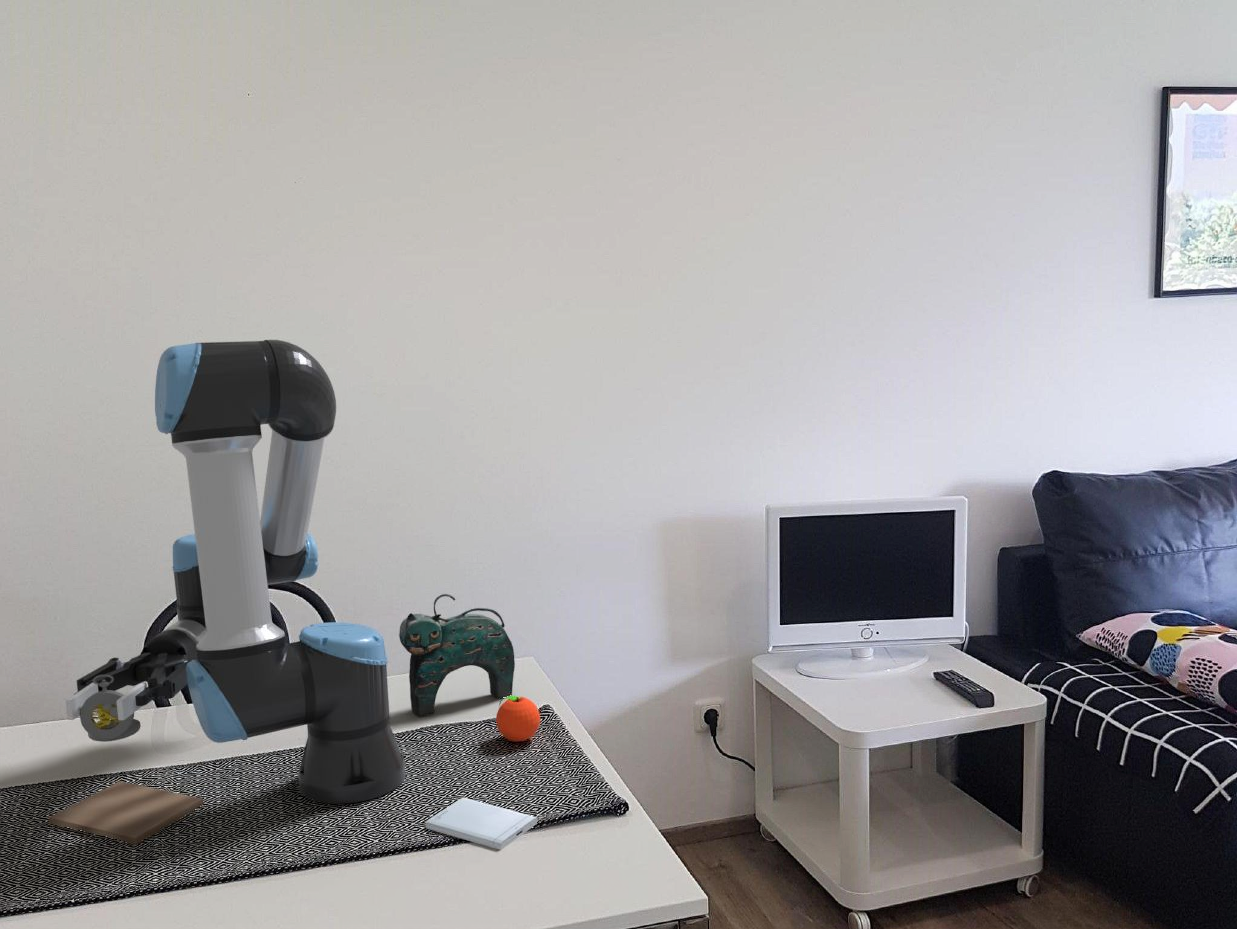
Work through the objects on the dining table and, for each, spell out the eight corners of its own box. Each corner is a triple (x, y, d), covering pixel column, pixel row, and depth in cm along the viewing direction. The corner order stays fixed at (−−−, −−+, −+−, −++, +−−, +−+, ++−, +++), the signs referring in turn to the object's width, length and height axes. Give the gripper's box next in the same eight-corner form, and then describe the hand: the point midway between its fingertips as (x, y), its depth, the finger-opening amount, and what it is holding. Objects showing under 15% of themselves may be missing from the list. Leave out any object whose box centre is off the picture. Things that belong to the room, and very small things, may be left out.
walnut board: (203, 805, 156) (202, 798, 156) (135, 845, 146) (134, 838, 145) (120, 787, 163) (119, 781, 163) (49, 824, 152) (48, 817, 152)
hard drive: (425, 821, 148) (500, 841, 141) (464, 796, 155) (537, 814, 148) (426, 832, 148) (501, 853, 142) (464, 807, 155) (538, 826, 149)
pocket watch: (127, 721, 158) (120, 653, 157) (155, 736, 153) (148, 666, 151) (68, 739, 152) (60, 669, 151) (95, 756, 147) (87, 683, 145)
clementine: (483, 739, 177) (481, 696, 175) (515, 726, 182) (513, 684, 180) (517, 752, 171) (516, 708, 170) (550, 738, 176) (548, 695, 175)
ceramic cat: (410, 722, 185) (403, 605, 182) (398, 709, 190) (391, 596, 187) (520, 698, 194) (515, 586, 191) (505, 687, 200) (500, 578, 197)
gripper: (239, 675, 169) (167, 737, 147) (117, 675, 171) (28, 736, 148) (235, 628, 168) (162, 683, 145) (112, 628, 169) (21, 682, 147)
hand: (94, 710), depth 147 cm, fingers closed on pocket watch, 6 cm apart
